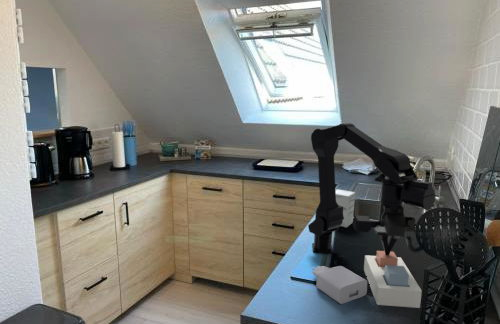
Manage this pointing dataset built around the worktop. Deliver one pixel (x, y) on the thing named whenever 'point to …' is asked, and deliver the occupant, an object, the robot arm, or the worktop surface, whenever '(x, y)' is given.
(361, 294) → the charger
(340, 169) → the worktop surface
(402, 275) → the slate key
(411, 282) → the key console
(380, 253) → the brick key
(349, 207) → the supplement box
